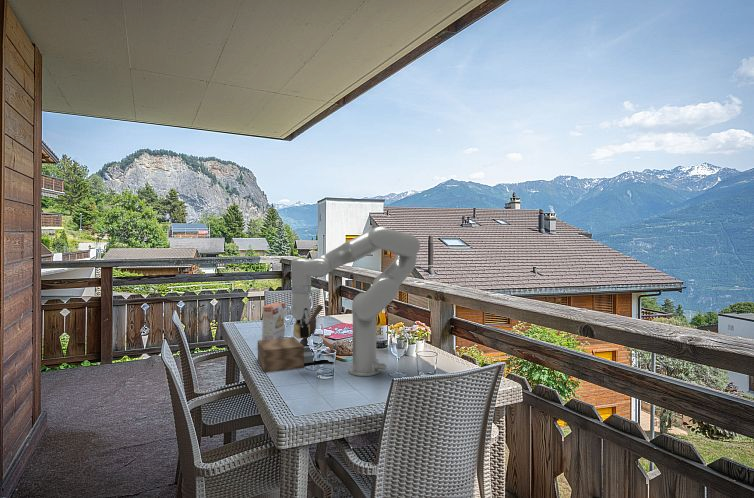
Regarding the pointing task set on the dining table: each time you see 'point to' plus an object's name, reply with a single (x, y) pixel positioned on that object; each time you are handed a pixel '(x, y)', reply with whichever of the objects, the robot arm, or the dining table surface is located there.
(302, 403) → the dining table surface
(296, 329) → the block
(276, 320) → the cracker box
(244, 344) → the dining table surface
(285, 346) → the brown box
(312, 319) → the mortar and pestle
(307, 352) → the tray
